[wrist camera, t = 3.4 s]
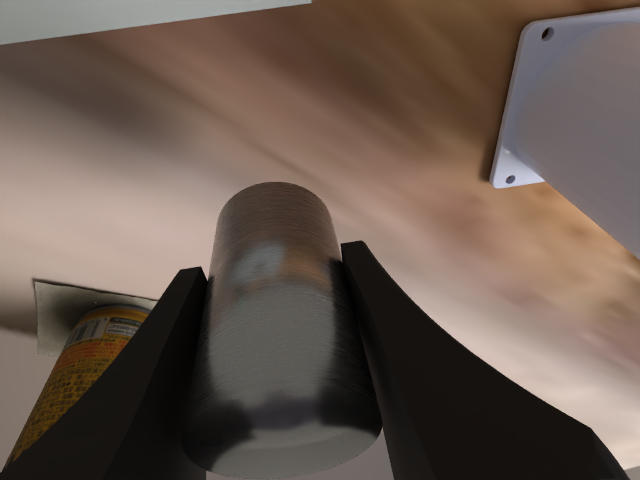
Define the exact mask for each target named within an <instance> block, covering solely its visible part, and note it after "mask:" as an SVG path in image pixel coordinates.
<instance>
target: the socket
mask: <svg viewBox="0 0 640 480" xmlns="http://www.w3.org/2000/svg"><path fill="white" fill-rule="evenodd" d="M307 3H312V0H0V45H2V44H10V43H17V42H25V41H32V40H39V39H47V38H54V37H62V36H69V35H77V34H84V33H91V32H99V31H106V30H114V29H121V28H129V27H136V26H144V25H151V24H158V23H166V22H173V21H181V20H188V19H196V18H203V17H211V16H218V15H225V14H233V13H240V12H248V11H255V10H263V9H270V8H277V7H285V6H292V5H300V4H307Z"/></svg>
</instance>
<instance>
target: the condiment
mask: <svg viewBox="0 0 640 480" xmlns="http://www.w3.org/2000/svg"><path fill="white" fill-rule="evenodd" d="M35 290H36V301H37V323H38V330H37V332H38V333H37V337H38V354H43V355H49V356H59V358H58V360H57V362H56V364H55V366H54V368H53V370H52V372H51V374H50V376H49V378H48V380H47V382H46V384H45V386H44V388H43V390H42V392H41V394H40V396H39V398H38V400H37V402H36V404H35V406H34V408H33V410H32V412H31V414H30V416H29V418H28V420H27V422H26V424H25V426H24V428H23V430H22V432H21V434H20V436H19V438H18V440H17V442H16V444H15V446H14V448H13V450H12V452H11V454H10V456H9V457H8V460H7V462H6V464H5V466H4V468H3V470H4V469H5V468H6V467H8V466H9V465H10V464H11V463H12V462H13V461H14V460H16V459H17V458H18V457H19V456H20V455H21V454H22V453H23V452H24V451H26V450H27V449H28V448H29V447H30V446H31V445H32V444H33V443H34V442H35V441H37V440H38V439H39V438H40V437H41V436H42V435H43V434H44V433H45V432H46V431H47V430H48V429H49V428H50V427H51V426H52V425H53V424H54V423H55V422H56V421H57V420H58V419H59V418H60V417H61V416H62V415H63V414H64V413H65V412H66V411H67V410H68V409H70V408H71V407H72V406H73V405H74V404H75V403H76V401H77V400H78V399H79V398H80V397H81V396H82V395H83V394H84V393H85V392H86V391H87V390H88V389H89V388H90V387H91V385H92V384H93V383H94V382H95V381H96V380H97V379H98V378H99V377H100V376H101V374H102V373H103V372H104V371H105V370H106V369H107V368H108V366H109V365H110V364H111V363H112V362H113V360H114V359H115V358H116V357H117V355H118V354H119V353H120V352H121V350H122V349H123V348H124V347H125V345H126V344H127V343H128V341H129V340H130V339H131V338H132V336H133V335H134V334H135V332H136V331H137V330H138V328H139V327H140V326H141V324H142V323H143V321H144V320H145V319H146V317H147V316H148V315H149V313H150V312H151V310H152V309H153V308H154V306H155V305H156V303H157V302H158V301H151V300H148V299H143V298H138V297H130V296H124V295H116V294H104V293H99V292H96V291H92V290H84V289H81V288H76V287H69V286H55V285H51V284H46V283H41V282H35ZM94 302H97V303H94ZM3 470H2V471H3Z"/></svg>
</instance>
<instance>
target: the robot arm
mask: <svg viewBox="0 0 640 480" xmlns="http://www.w3.org/2000/svg"><path fill="white" fill-rule="evenodd" d="M546 28H549V31H548V34H547V36H546V37H545V38H543V39H542V33H543V31H544V30H545V29H546ZM509 176H511V177H510V178H509V179H508V180H506V179H507V178H508V177H509ZM545 181H546V182H547V183H548V184H550V185H551V186H552V187H553V188H554V189H556V190H557V191H558V192H559V193H560V194H562V195H563V196H564V197H565V198H566V199H568V200H569V201H570V202H571V203H572V204H573V205H575V206H576V207H577V208H578V209H579V210H581V211H582V212H583V213H584V214H585V215H587V216H588V217H589V218H590V219H591V220H593V221H594V222H595V223H596V224H597V225H599V226H600V227H601V228H602V229H603V230H605V231H606V232H607V233H608V234H609V235H611V236H612V237H613V238H614V239H615V240H617V241H618V242H619V243H620V244H621V245H623V246H624V247H625V248H626V249H627V250H629V251H630V252H631V253H632V254H633V255H634V256H636V257H637V258H638V259H639V260H640V6H639V7H632V8H625V9H618V10H610V11H603V12H596V13H589V14H582V15H574V16H567V17H560V18H553V19H545V20H538V21H533V22H530V23H529V24H528V25H526V26H525V28H524V29H523V30H522V33H521V36H520V40H519V45H518V49H517V54H516V58H515V63H514V68H513V72H512V77H511V82H510V86H509V91H508V95H507V100H506V105H505V109H504V114H503V119H502V123H501V128H500V133H499V137H498V142H497V146H496V151H495V156H494V160H493V165H492V170H491V174H490V179H489V182H490V184H491V185H492V186H493V187H494V188H506V187H512V186H519V185H526V184H532V183H539V182H545ZM341 253H342V263H343V267H344V271H345V275H346V279H347V283H348V287H349V290H350V294H351V298H352V302H353V306H354V310H355V314H356V318H357V322H358V325H359V329H360V333H361V337H362V341H363V345H364V349H365V353H366V357H367V361H368V365H369V369H370V373H371V377H372V381H373V385H374V389H375V392H376V396H377V400H378V404H379V408H380V412H381V416H382V422H383V424H382V427H383V431H384V435H385V440H386V445H387V449H388V453H389V458H390V463H391V467H392V472H393V476H394V480H630V479H629V478H628V476H627V474H626V473H625V472H624V470H623V469H622V467H621V466H620V464H619V463H618V461H617V460H616V459H615V457H614V456H613V455H612V453H611V452H610V451H609V449H608V448H607V447H606V446H605V445H604V443H603V442H602V441H601V440H600V439H599V437H598V436H597V435H596V434H595V433H594V431H593V430H592V429H591V428H590V427H588V426H586V425H584V424H583V423H581V422H579V421H577V420H576V419H574V418H572V417H570V416H569V415H567V414H565V413H563V412H562V411H560V410H558V409H556V408H555V407H553V406H551V405H550V404H548V403H546V402H545V401H543V400H541V399H540V398H538V397H536V396H535V395H533V394H532V393H530V392H529V391H527V390H526V389H524V388H523V387H521V386H519V385H518V384H516V383H515V382H513V381H512V380H510V379H509V378H507V377H506V376H504V375H503V374H502V373H500V372H499V371H497V370H496V369H495V368H493V367H492V366H490V365H489V364H487V363H486V362H485V361H483V360H482V359H480V358H479V357H478V356H476V355H475V354H473V353H472V352H471V351H469V350H468V349H467V348H466V347H464V346H463V345H462V344H461V343H459V342H458V341H457V340H456V339H454V338H453V337H452V336H451V335H450V334H448V333H447V332H446V331H445V330H444V329H442V328H441V327H440V326H439V325H438V324H437V323H436V322H434V321H433V320H432V319H431V318H430V317H429V316H428V315H427V314H426V313H425V312H424V311H423V310H422V309H421V308H420V307H419V306H418V305H417V304H416V303H415V302H414V301H412V299H411V298H410V297H409V296H408V295H407V294H406V293H405V292H404V291H403V290H402V289H401V288H400V287H399V286H398V284H397V283H396V282H395V281H394V280H393V279H392V278H391V277H390V275H389V274H388V273H387V272H386V271H385V269H384V268H383V267H382V266H381V264H380V263H379V262H378V261H377V259H376V258H375V257H374V255H373V254H372V253H371V251H370V250H369V248H368V247H367V245H366V244H365V243H364V242H363V241H355V242H349V243H342V244H341ZM207 283H208V281H207V279H206V277H205V274H204V272H203V270H202V268H201V266H200V267H194V268H188V269H182V270H180V271H179V272H178V273H177V275H176V276H175V277H174V279H173V280H172V282H171V283H170V285H169V286H168V287H167V289H166V290H165V292H164V293H163V295H162V296H161V298H160V299H159V300H158V302H157V303H156V305H155V306H154V308H153V309H152V310H151V312H150V313H149V315H148V316H147V317H146V319H145V320H144V321H143V323H142V324H141V326H140V327H139V328H138V330H137V331H136V332H135V334H134V335H133V336H132V338H131V339H130V340H129V341H128V343H127V344H126V345H125V347H124V348H123V349H122V350H121V352H120V353H119V354H118V355H117V357H116V358H115V359H114V360H113V362H112V363H111V364H110V365H109V366H108V368H107V369H106V370H105V371H104V372H103V373H102V374H101V376H100V377H99V378H98V379H97V380H96V381H95V382H94V383H93V384H92V385H91V387H90V388H89V389H88V390H87V391H86V392H85V393H84V394H83V395H82V396H81V397H80V398H79V399H78V400H77V401H76V403H75V404H74V405H73V406H72V407H71V408H70V409H68V410H67V411H66V412H65V413H64V414H63V415H62V416H61V417H60V418H59V419H58V420H57V421H56V422H55V423H54V424H53V425H52V426H51V427H50V428H49V429H48V430H47V431H46V432H45V433H44V434H43V435H42V436H41V437H40V438H39V439H38V440H37V441H35V442H34V443H33V444H32V445H31V446H30V447H29V448H28V449H27V450H26V451H24V452H23V453H22V454H21V455H20V456H19V457H18V458H17V459H16V460H14V461H13V462H12V463H11V464H10V465H9V466H8V467H6V468H5V469H4V470H3V471H2V472H1V473H0V480H206V470H205V469H203V468H201V467H199V466H197V465H196V464H194V463H193V462H192V461H191V460H190V459H189V458H188V457H187V456H186V454H185V453H184V450H183V447H182V437H183V431H184V425H185V419H186V413H187V407H188V400H189V394H190V388H191V382H192V376H193V369H194V363H195V357H196V351H197V345H198V339H199V332H200V326H201V320H202V314H203V308H204V302H205V295H206V289H207Z"/></svg>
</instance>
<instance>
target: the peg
mask: <svg viewBox="0 0 640 480" xmlns="http://www.w3.org/2000/svg"><path fill="white" fill-rule="evenodd" d="M382 424H383V422H382V416H381V412H380V408H379V404H378V400H377V396H376V392H375V389H374V385H373V381H372V377H371V373H370V369H369V365H368V361H367V357H366V353H365V349H364V345H363V341H362V337H361V333H360V329H359V325H358V322H357V318H356V314H355V310H354V306H353V302H352V298H351V294H350V290H349V287H348V283H347V279H346V275H345V271H344V267H343V263H342V258H341V255H340V251H339V247H338V243H337V239H336V235H335V231H334V227H333V223H332V219H331V216H330V213H329V211H328V209H327V207H326V205H325V204H324V203H323V202H322V200H321V199H320V198H318V197H317V196H316V195H315V194H314V193H312V192H311V191H309V190H307V189H305V188H303V187H301V186H298V185H295V184H291V183H285V182H266V183H261V184H256V185H253V186H250V187H248V188H246V189H244V190H242V191H240V192H239V193H237V194H236V195H234V196H233V197H232V198H231V199H230V200H229V201H228V202H227V203H226V204H225V206H224V207H223V209H222V210H221V213H220V215H219V217H218V222H217V227H216V234H215V240H214V246H213V252H212V258H211V264H210V271H209V277H208V283H207V289H206V295H205V302H204V308H203V314H202V320H201V326H200V332H199V339H198V345H197V351H196V357H195V363H194V369H193V376H192V382H191V388H190V394H189V400H188V407H187V413H186V419H185V425H184V431H183V437H182V447H183V450H184V453H185V454H186V456H187V457H188V458H189V459H190V460H191V461H192V462H193V463H194V464H196V465H197V466H199V467H201V468H203V469H205V470H207V471H210V472H213V473H215V474H219V475H223V476H228V477H233V478H241V479H255V480H263V479H265V480H268V479H281V478H290V477H297V476H303V475H308V474H312V473H316V472H319V471H323V470H326V469H329V468H332V467H335V466H337V465H340V464H342V463H344V462H346V461H349V460H351V459H352V458H354V457H356V456H358V455H359V454H361V453H362V452H363V451H365V450H366V449H367V448H369V447H370V446H371V445H372V444H373V443H374V441H375V440H376V439H377V438H378V436H379V434H380V432H381V430H382Z"/></svg>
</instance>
